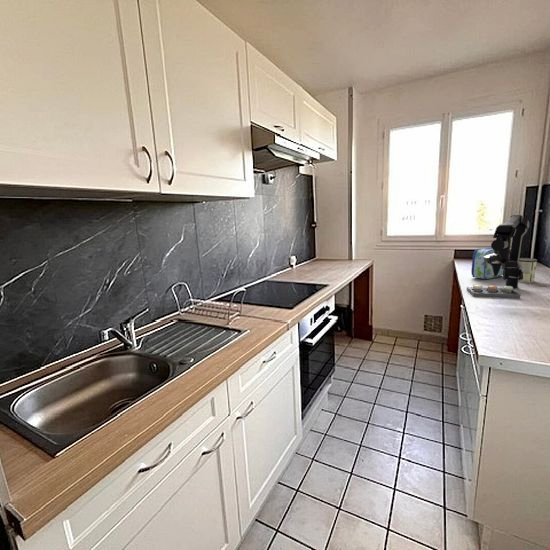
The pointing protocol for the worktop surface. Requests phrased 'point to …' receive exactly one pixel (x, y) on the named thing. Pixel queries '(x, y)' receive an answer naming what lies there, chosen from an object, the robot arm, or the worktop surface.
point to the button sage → (507, 289)
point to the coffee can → (528, 269)
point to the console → (493, 293)
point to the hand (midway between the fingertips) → (500, 277)
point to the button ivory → (477, 287)
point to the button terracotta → (492, 288)
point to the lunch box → (483, 265)
